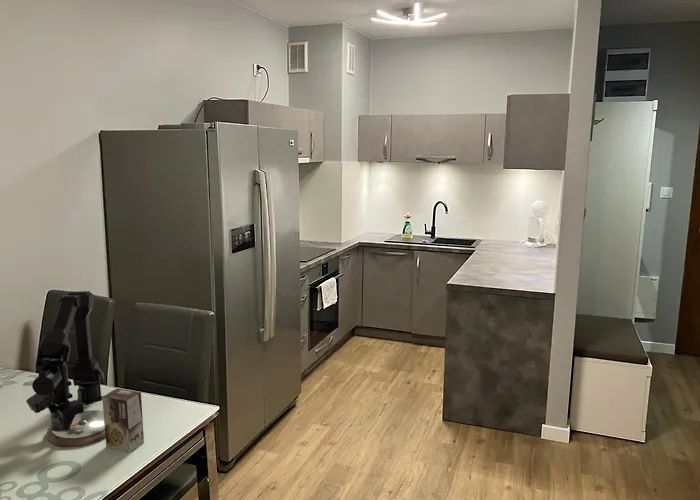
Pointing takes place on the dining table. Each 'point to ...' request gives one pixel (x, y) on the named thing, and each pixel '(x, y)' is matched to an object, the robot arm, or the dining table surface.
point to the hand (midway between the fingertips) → (61, 426)
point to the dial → (79, 425)
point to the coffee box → (123, 419)
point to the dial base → (75, 442)
